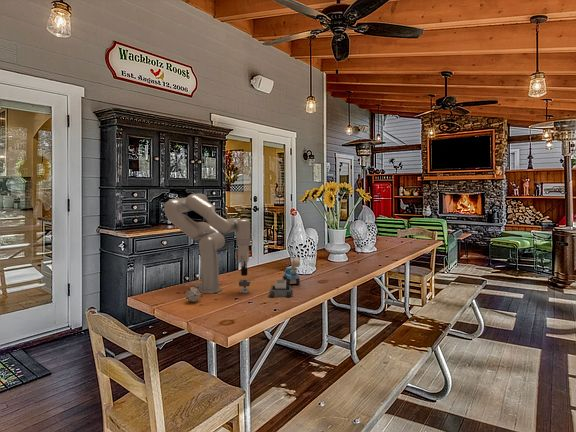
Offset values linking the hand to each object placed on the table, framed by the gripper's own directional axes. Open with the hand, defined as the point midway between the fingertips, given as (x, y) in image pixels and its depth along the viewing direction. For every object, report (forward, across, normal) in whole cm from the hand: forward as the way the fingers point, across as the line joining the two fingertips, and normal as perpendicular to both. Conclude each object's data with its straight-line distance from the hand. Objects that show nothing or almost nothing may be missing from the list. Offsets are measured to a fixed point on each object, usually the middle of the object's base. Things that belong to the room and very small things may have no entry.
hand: (244, 275), depth 204 cm
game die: (+10, +14, -24) cm, 30 cm away
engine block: (+10, 0, +20) cm, 22 cm away
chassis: (+10, 0, +20) cm, 22 cm away
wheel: (+6, -2, 0) cm, 6 cm away
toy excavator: (+11, -18, +26) cm, 33 cm away
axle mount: (+10, -2, 0) cm, 10 cm away
